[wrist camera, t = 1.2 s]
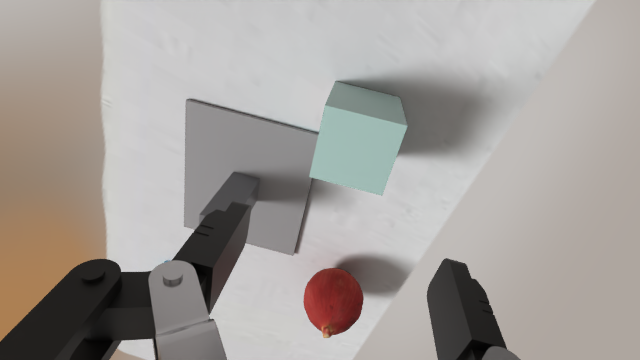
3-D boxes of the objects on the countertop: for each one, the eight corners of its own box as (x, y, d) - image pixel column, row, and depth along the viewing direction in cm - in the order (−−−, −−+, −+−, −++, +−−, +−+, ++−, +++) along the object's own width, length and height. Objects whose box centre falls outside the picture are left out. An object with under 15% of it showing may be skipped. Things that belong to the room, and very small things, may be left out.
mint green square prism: (335, 81, 26) (325, 105, 20) (399, 97, 26) (407, 126, 20) (321, 140, 28) (308, 176, 23) (380, 155, 28) (381, 195, 23)
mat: (188, 99, 28) (185, 100, 28) (323, 134, 28) (322, 136, 28) (185, 224, 35) (184, 226, 35) (293, 253, 35) (293, 255, 35)
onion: (374, 267, 35) (374, 335, 28) (346, 298, 37) (340, 366, 31) (326, 242, 34) (314, 305, 27) (301, 275, 37) (284, 340, 30)
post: (233, 171, 31) (199, 214, 25) (260, 178, 31) (232, 223, 25) (231, 194, 32) (198, 240, 26) (256, 201, 32) (230, 248, 26)
